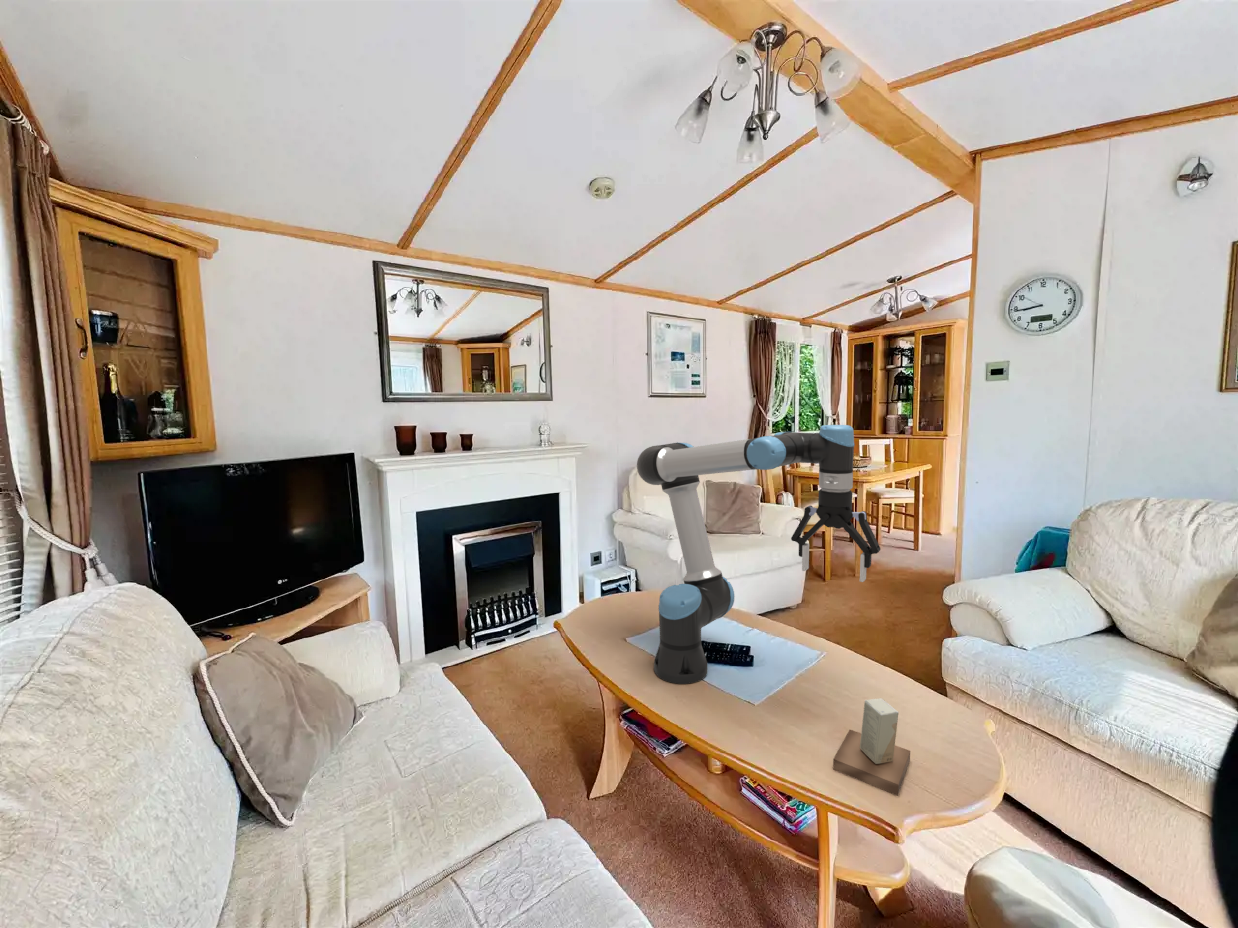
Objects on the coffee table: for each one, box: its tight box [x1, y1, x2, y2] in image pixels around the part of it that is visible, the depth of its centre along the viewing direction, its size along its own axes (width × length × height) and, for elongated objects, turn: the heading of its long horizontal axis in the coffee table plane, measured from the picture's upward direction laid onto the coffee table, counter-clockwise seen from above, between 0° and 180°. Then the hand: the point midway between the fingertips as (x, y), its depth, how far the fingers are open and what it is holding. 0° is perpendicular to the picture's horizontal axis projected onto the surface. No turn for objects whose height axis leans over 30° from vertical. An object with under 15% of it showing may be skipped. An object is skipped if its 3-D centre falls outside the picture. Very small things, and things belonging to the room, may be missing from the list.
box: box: [860, 697, 899, 764], centre depth 106 cm, size 5×4×11 cm
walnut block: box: [832, 729, 911, 797], centre depth 108 cm, size 12×12×3 cm
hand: (833, 574), depth 127 cm, fingers open, 13 cm apart
